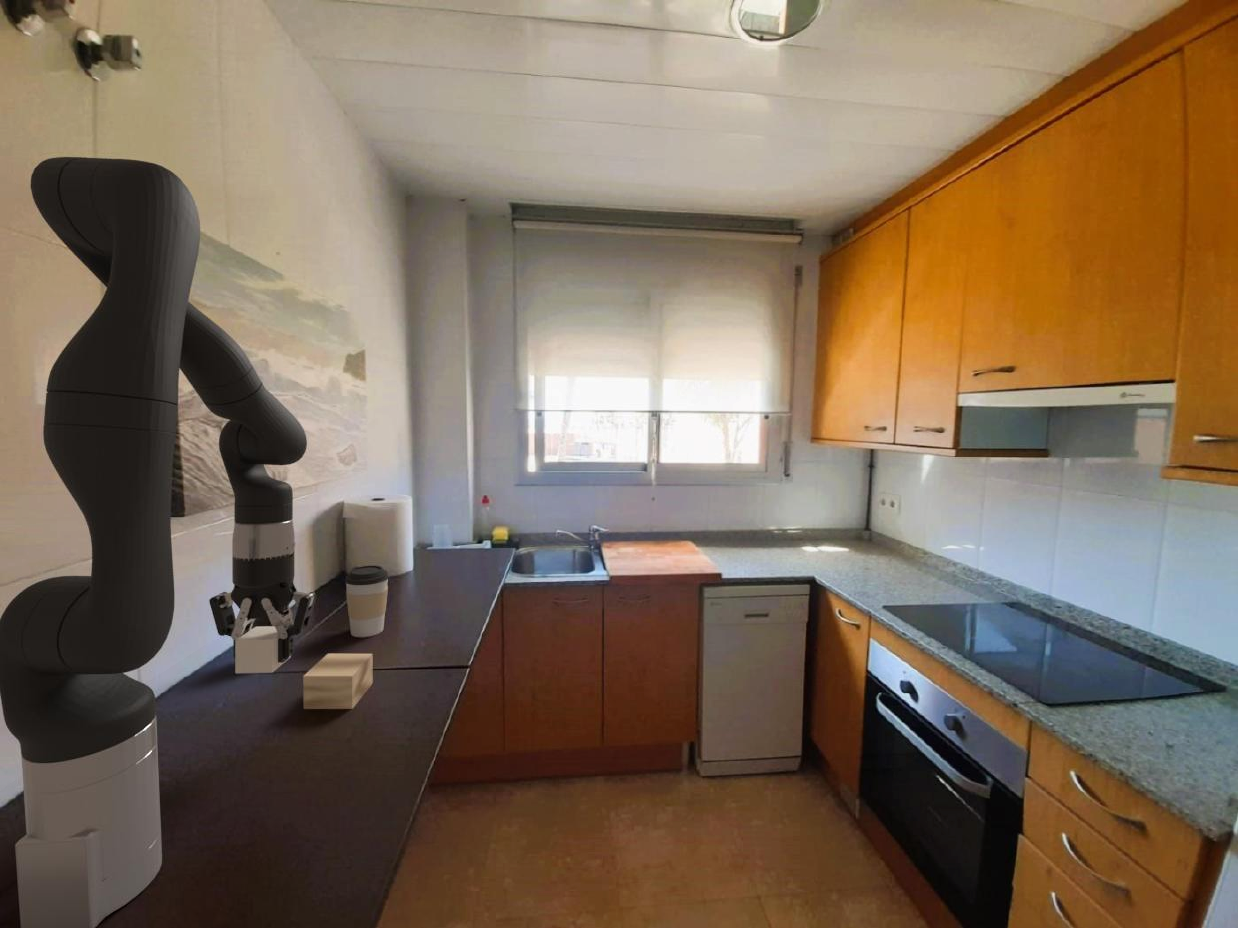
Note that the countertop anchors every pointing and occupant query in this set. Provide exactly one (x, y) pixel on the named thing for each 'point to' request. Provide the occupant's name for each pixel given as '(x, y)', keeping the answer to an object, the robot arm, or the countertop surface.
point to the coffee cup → (366, 599)
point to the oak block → (338, 681)
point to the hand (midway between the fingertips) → (264, 660)
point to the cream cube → (257, 651)
